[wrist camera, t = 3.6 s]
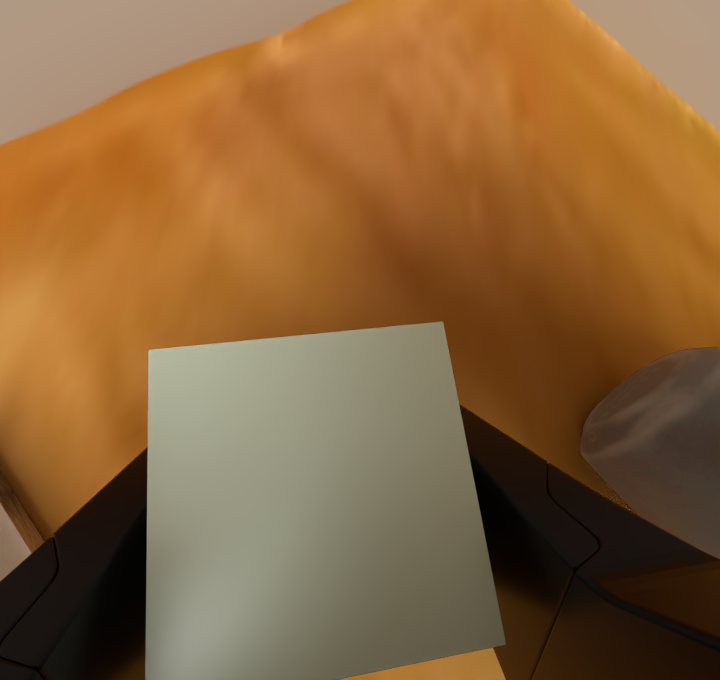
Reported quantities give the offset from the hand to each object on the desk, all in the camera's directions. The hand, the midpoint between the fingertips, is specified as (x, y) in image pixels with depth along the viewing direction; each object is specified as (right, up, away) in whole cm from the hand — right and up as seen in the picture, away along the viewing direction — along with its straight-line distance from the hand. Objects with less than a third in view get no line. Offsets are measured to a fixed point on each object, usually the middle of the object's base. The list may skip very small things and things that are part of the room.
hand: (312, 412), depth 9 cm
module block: (0, -3, +6) cm, 7 cm away
